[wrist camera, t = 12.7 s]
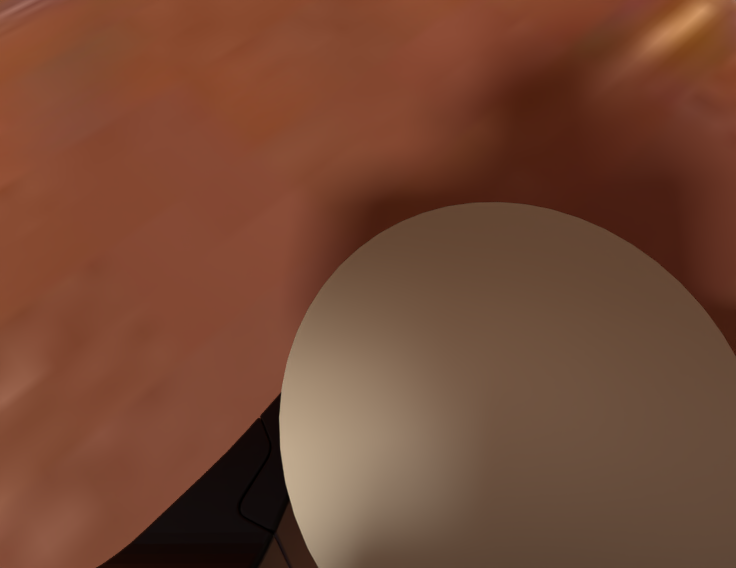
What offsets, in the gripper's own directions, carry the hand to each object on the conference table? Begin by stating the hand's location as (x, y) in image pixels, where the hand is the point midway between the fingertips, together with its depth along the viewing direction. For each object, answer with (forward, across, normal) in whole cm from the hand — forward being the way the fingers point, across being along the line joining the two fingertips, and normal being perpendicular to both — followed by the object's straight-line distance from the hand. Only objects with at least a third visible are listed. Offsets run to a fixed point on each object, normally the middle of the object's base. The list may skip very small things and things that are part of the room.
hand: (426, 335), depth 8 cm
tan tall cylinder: (+3, 0, +5) cm, 6 cm away
